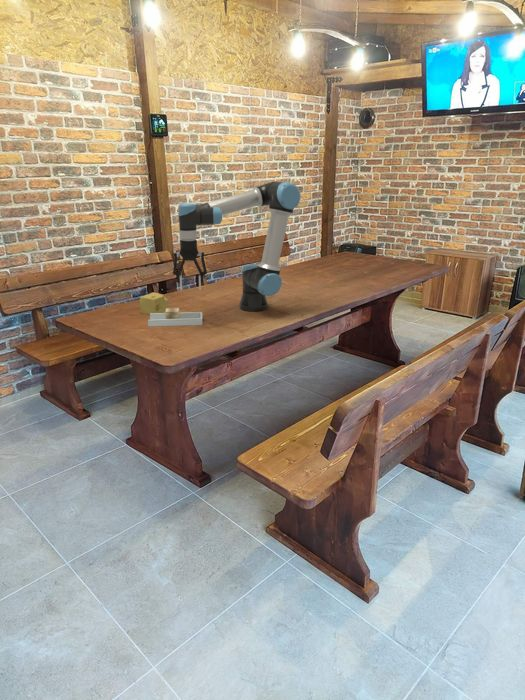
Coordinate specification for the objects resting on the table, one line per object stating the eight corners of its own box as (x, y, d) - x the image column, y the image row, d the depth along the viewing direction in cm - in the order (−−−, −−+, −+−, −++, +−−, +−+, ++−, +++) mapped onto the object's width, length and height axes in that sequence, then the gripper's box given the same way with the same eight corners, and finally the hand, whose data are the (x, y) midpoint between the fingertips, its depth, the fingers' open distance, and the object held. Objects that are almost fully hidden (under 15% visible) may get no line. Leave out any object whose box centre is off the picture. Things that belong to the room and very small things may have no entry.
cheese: (169, 313, 250) (168, 294, 246) (155, 319, 241) (154, 299, 237) (154, 310, 255) (153, 291, 251) (139, 315, 246) (138, 296, 242)
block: (179, 320, 235) (179, 308, 233) (179, 324, 229) (178, 311, 227) (167, 320, 234) (166, 308, 232) (166, 324, 229) (165, 312, 226)
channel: (202, 320, 239) (202, 312, 237) (202, 327, 229) (202, 318, 227) (150, 322, 236) (149, 313, 234) (148, 329, 226) (147, 320, 224)
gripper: (211, 238, 223) (213, 286, 232) (165, 238, 221) (168, 287, 229) (212, 240, 216) (213, 290, 225) (164, 241, 214) (167, 291, 222)
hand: (190, 289), depth 227 cm, fingers open, 8 cm apart
